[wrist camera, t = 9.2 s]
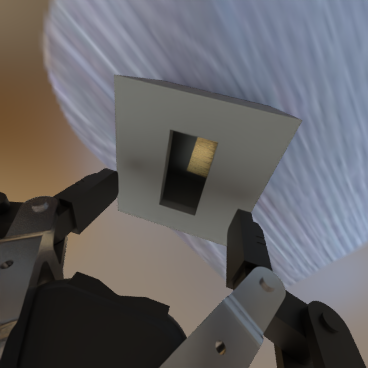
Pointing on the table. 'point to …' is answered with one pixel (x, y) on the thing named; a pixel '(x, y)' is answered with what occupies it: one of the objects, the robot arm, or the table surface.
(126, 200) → the coin box
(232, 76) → the table surface
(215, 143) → the yellow wooden block
